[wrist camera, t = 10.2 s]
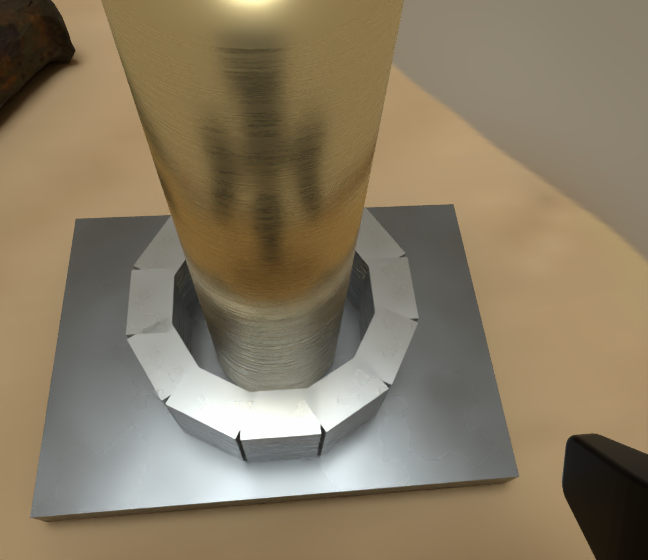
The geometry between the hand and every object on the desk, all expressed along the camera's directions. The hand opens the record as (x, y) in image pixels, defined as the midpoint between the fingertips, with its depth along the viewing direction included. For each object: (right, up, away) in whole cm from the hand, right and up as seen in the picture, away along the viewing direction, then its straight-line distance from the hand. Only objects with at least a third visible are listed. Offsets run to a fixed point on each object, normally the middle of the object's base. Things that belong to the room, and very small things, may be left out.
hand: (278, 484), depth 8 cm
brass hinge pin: (-1, +1, +10) cm, 10 cm away
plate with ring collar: (-1, +1, +11) cm, 11 cm away
